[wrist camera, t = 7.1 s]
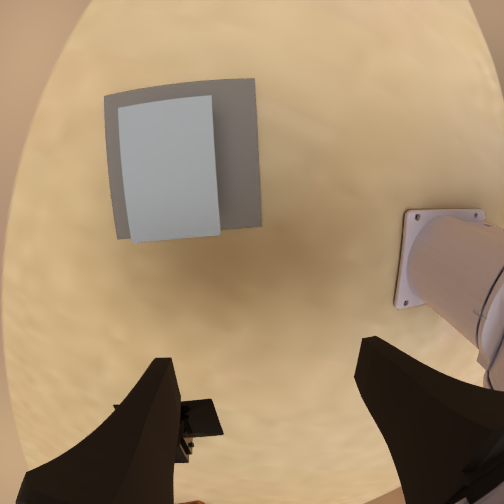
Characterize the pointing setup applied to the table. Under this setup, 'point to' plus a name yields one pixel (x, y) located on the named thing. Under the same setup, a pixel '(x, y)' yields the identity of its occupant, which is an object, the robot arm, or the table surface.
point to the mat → (225, 139)
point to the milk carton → (194, 502)
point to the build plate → (195, 426)
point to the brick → (169, 169)
